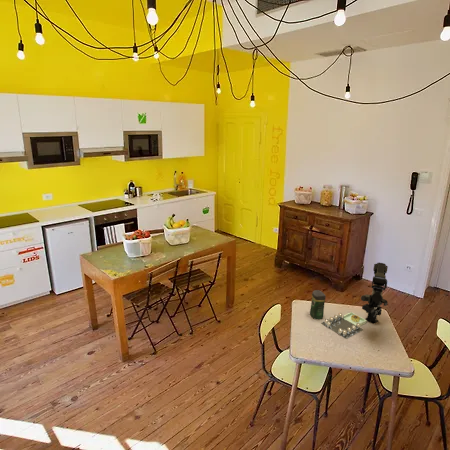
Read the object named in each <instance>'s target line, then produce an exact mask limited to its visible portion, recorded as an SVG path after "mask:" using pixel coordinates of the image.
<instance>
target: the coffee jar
mask: <svg viewBox="0 0 450 450" xmlns="http://www.w3.org/2000/svg"><path fill="white" fill-rule="evenodd" d="M326 297H327V296H326V294H325V293H324V292H323V291H321V290H319V289H315V290H313V291H312V293H311V303H310V309H309V315H310V316H311V318H312V319H314V320H323V318H324V313H325V303H326Z"/></svg>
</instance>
